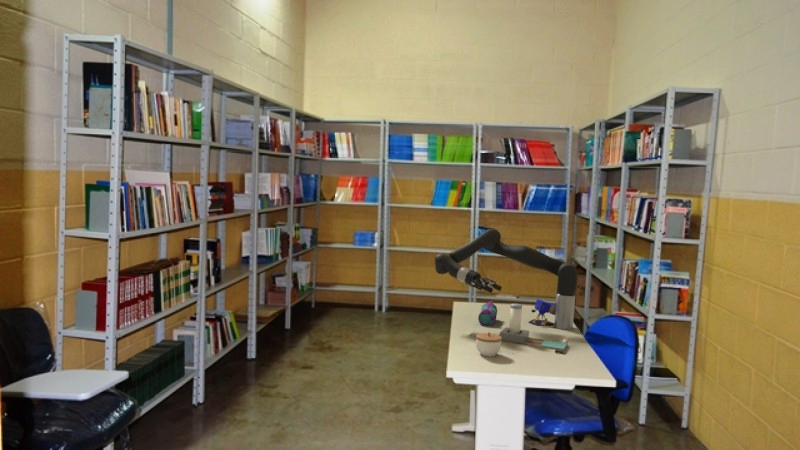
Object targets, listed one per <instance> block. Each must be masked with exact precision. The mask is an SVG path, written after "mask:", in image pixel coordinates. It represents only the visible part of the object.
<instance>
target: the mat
mask: <svg viewBox="0 0 800 450" xmlns="http://www.w3.org/2000/svg"><path fill="white" fill-rule="evenodd" d="M543 340H544V342H543V343H542V344H541V346H542V347H549V348H555V349H561V350H564V349H565V347H566V345H567V342H562V343H561V341H556V342H554V341H555V340H550V341H548V339H543ZM565 350H566V349H565Z"/></svg>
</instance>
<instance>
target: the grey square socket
mask: <svg viewBox="0 0 800 450" xmlns="http://www.w3.org/2000/svg"><path fill="white" fill-rule="evenodd" d="M499 336H501V337H502V340H503V341H509V342H516V343H522V344H524V343H525V342H526V340H527V339H528V338H529V337H530V330H526V329H521V328H520V334H516V333H509V327H507V326H505V327H504V328H503V329H502V330H501V331H500V332H499ZM503 341H502V342H503ZM509 342H508V343H509ZM522 344H521V345H522Z"/></svg>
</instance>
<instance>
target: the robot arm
mask: <svg viewBox="0 0 800 450" xmlns="http://www.w3.org/2000/svg"><path fill="white" fill-rule="evenodd" d="M501 238H502V236H501V233H500V231H498V230H497V229H495V228H489V229H487V230H485V231H484V232H483V233H481V234H480V235H478V236H477V237H475V238H474V239H472V240H471V241H469V242H467V243H465V244H464V245H461V246H460V247H458V248H456V249H454V250H452V251H450V252H449V254H445V253H438V254H436V256H435V257H434V266H435V267H434V268H435V272H436V273H437V274H439V275H445V274H449V276H450V277H452V278H455V279H456V280H458V281H460V282H462V283H464V284H466V285H468V286H469V287H472V288H475V289H477V290H479V291H486V292H488V293H490V294H492V293H493V291H494V289H495V290H497V291H498V292H500V291H502V289H503V288H502V287H503V286H501V285H500V284H497V282H496V281H494V280H492V279H490V278H488V277H485V278H484V277H482V276H481V273H480V272H478V271H476V270H474V269H471V268H469V267H467V266H464V265H462V264H461V263H463V262H465V261H466V260H468V259H469V258H471V257H472V256H473V255H475V254H476V253H477V252H479V250H482V249H483V250H485V251H487V252H490V253H493V254H495V255H500V256H503V257H506V258H508V259H511V260H513V261H514V262H515V261H516V262H519V263H520V264H521V265H525V266H528V267H530V268H534V269H538V270H543V271H546V272H547V273H551V274H553V275H555V276H557V287H556V293H555V294H556V297H555V305H556V309H555V315H554V322H553V323H554V325H553V328H554V327H555V328H556V329H558V330H559V329H560V330H564V331H565V330H569V331H570V330H573V329H574V316H575V315H574V314H575V305H576V304H575V302H576V301H575V300H576V292H577V283H578V271H577V268H576V267H575V266H574V265H573V264H572V263H569V262H567V261H563V260H559V259H556V258H553V257H551V256H549V255H547V254H545V253H543V252H541V251H539V250H537V249H534V248H533V247H529V246H528V245H527V246H526V245H522V244H521V245H519V244H518V245H515V244H514V245H511V244H507V243H504V242H501Z"/></svg>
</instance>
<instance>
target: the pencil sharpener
mask: <svg viewBox="0 0 800 450" xmlns="http://www.w3.org/2000/svg"><path fill="white" fill-rule="evenodd" d="M555 309H556V303H555V304H554V303H552V304H551V303H550V302H547V301H543V300H541V299H536V301H535V304H534V309H531V313H536V311H538V313H537V316H536V318H533V319H531V320H530V321H528V322H527V323H528V324H530V325H533V326H535V327H536V326H537V327H547V328H554V323H555V322H553V321H552V322H551V321H548V318H547V317H546V313H547V314H550V315H553V316H555ZM540 316H541V319H540Z"/></svg>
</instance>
